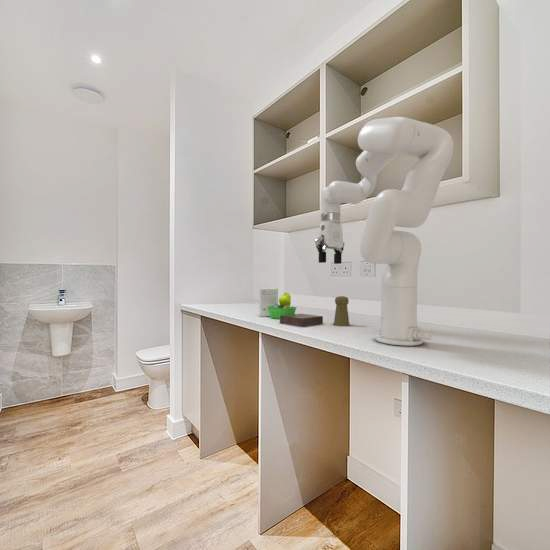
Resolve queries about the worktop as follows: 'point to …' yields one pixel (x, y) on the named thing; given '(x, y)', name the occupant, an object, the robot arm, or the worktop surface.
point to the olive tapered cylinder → (341, 311)
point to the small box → (267, 300)
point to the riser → (301, 319)
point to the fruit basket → (282, 307)
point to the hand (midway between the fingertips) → (330, 263)
